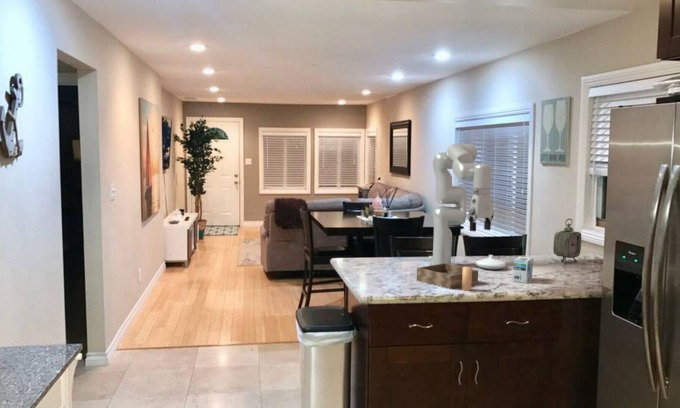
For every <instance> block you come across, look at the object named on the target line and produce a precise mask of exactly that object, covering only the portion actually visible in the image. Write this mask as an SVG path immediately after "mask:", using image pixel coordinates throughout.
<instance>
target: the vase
mask: <svg viewBox="0 0 680 408" xmlns="http://www.w3.org/2000/svg"><path fill="white" fill-rule="evenodd" d="M475 265H476V266H478V267H479V268H482V269H486V270H491V271H492V270H495V271H496V270H501V269H503V268H505V267H507V263H506V261H505V260H500V259H498V258H494V255H493V254H488V257H487V258H486V257H485V258H479V259H476V260H475Z"/></svg>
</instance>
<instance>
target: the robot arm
mask: <svg viewBox="0 0 680 408" xmlns="http://www.w3.org/2000/svg"><path fill="white" fill-rule="evenodd" d="M477 156H478V150H477V147H476V146H475V145H474V144H472V143H453V144H450V145H449V146H448V147H447V150H446V152H438V153H436V154H435V155H433V158H432V166H433V167H432V169H433V171H434V176H435V201H436V202H437V203H438V204H441V205H455V206H437V207H436V208H434V209H433V211H432V222H433V244H432V248H433V249H432V255H430V256H428V257H427V260H428V261H430V262H429V266H431V265H437V264H442V263H446V264H451V265H454V263H452V245H453V244H452V243H453V233H452V230H451V228H450V227H449V226H455V225H456V226H460V225H463V224H465V223H466V221H467V220H468V222H469V231H470V232H477V222H476V221H477V220H478V219H484V223H483V226H484V227H483V229H484V230H485V231H491V229H492V228H491V227H492V226H491V225H492V224H491V223H492V221H493V218H494V215H495V210H493V199H492V198H493V197H492V195H491V191H492V190H491V187H492V186H491V185H492V166H491V165H490V164H485V163H474V161H475V160H476V158H477ZM449 170H452V172H453V175H454V176H455V177H456V178H457V179H459V180H462V181H473V187H472V196H471V201H470V208H469V210H467V192H466V190H465V188H464V187H463V186H459V185H453V175H452V174H451V172H450V171H449Z"/></svg>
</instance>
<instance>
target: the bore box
mask: <svg viewBox="0 0 680 408" xmlns="http://www.w3.org/2000/svg"><path fill="white" fill-rule="evenodd" d="M463 267H464V266H458V265H451V264H446V263H442V264H437V265H431V266H430V265H426V266H420V267H416V281H417V282H421V283H425V284H428V283H429V284H430V285H432V284H434V285H433V286H436V285H437V287H440V286H441V288H444V287H445V288H444V289H448V288H449V289H448V290H452V289H451V288H453V289H457V288H456V287H458V288H462V287H461V286H462V274H463ZM475 283H476V284H478V283H479V270H477V269H473V268H472V281H471V284H472V285H475Z"/></svg>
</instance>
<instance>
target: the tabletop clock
mask: <svg viewBox="0 0 680 408" xmlns="http://www.w3.org/2000/svg"><path fill="white" fill-rule="evenodd" d="M569 220H570V221H571V222H570V223H567V222H568V221H569ZM564 223H565V226H564V228H563V230H560V231H557V232H555V234H554V237H553V248H552V249H553V254H555V256H557V257H562V259H560V261H561V263H563V264H564V265H567V263H568V262H567V258H568V259H573V262H574V263H577V262H578V260H577V259H576V258H578V257H579V256H580V255H581V250H582V232H581V231H579V232H578V231H574V228H573V227H572V226H571V225H573V219H572V218H570V217H569V218H567V219H566V220H565V222H564Z"/></svg>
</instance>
